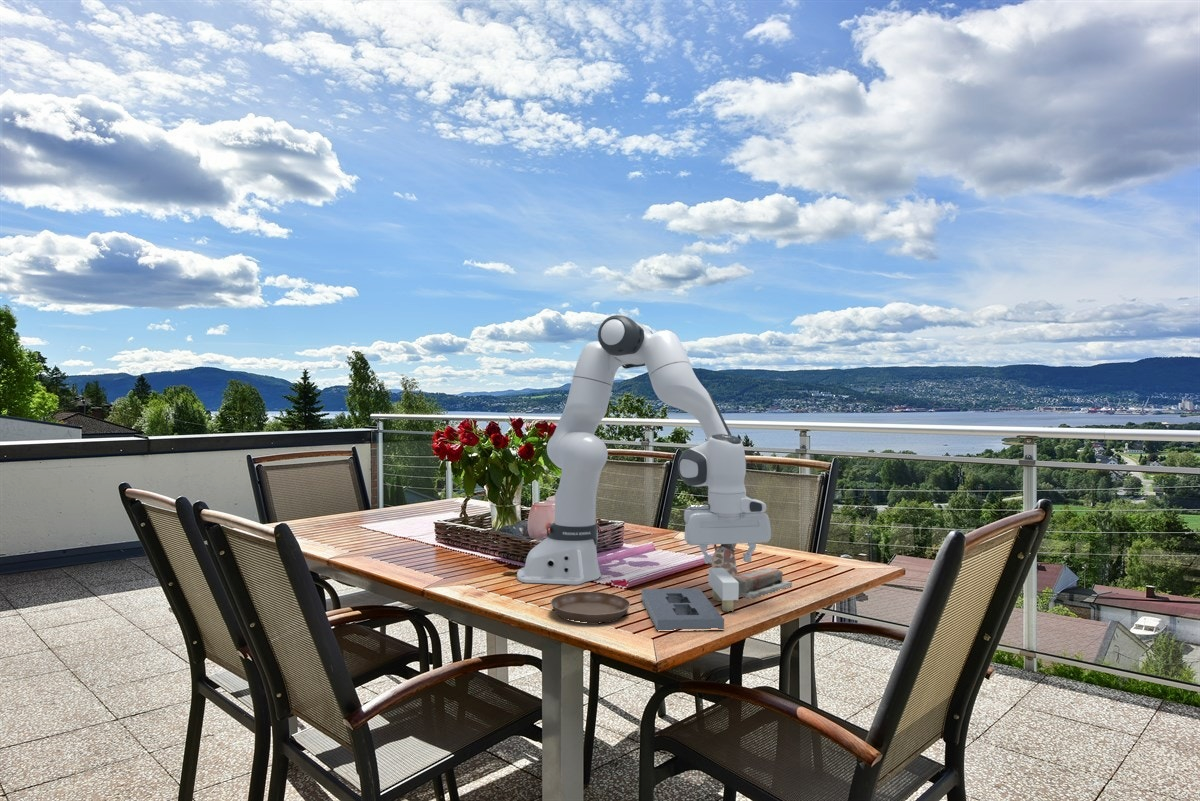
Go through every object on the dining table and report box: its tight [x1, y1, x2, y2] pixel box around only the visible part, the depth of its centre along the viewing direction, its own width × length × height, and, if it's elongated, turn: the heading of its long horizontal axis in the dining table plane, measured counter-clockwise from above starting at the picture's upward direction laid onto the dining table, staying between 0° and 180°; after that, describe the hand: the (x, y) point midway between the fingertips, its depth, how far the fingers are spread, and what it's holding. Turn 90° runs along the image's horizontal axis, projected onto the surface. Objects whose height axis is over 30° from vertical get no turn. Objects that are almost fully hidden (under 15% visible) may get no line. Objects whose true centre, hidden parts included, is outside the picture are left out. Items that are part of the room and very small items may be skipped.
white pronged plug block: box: [708, 567, 739, 613], centre depth 172 cm, size 14×4×7 cm, turn 5°
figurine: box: [711, 544, 739, 575], centre depth 201 cm, size 7×7×12 cm
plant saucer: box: [550, 591, 631, 623], centre depth 164 cm, size 18×18×3 cm
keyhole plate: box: [641, 588, 725, 631], centre depth 164 cm, size 24×14×2 cm, turn 5°
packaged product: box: [731, 567, 793, 599], centre depth 187 cm, size 18×5×10 cm
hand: (727, 562), depth 173 cm, fingers open, 8 cm apart
